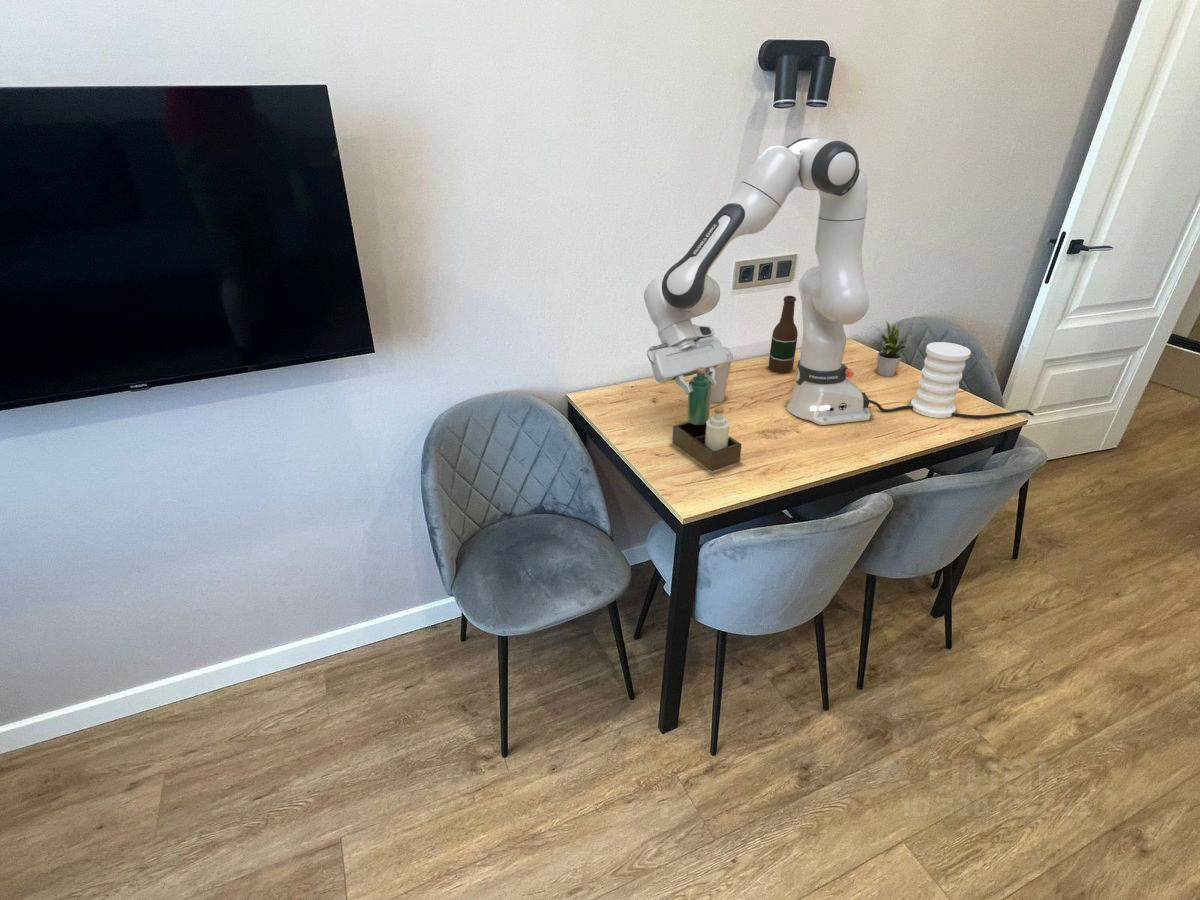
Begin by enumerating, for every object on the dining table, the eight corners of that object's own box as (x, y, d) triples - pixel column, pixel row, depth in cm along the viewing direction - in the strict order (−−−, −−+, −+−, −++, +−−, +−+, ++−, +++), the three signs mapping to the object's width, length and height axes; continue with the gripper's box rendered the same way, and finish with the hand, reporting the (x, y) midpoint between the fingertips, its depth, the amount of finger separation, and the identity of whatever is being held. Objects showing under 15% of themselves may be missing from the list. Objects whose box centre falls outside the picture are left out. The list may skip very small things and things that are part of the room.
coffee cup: (693, 401, 189) (696, 354, 181) (701, 389, 196) (704, 342, 189) (725, 406, 185) (730, 358, 178) (732, 393, 193) (737, 346, 186)
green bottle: (707, 414, 163) (711, 364, 156) (710, 424, 158) (714, 373, 152) (685, 414, 163) (688, 364, 156) (688, 425, 159) (690, 373, 152)
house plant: (851, 364, 211) (860, 316, 203) (891, 362, 213) (902, 314, 204) (872, 381, 199) (882, 331, 191) (914, 379, 200) (927, 329, 192)
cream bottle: (724, 452, 161) (729, 403, 154) (728, 464, 156) (733, 413, 149) (702, 453, 161) (705, 403, 154) (705, 464, 156) (709, 414, 149)
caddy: (672, 445, 166) (673, 425, 164) (698, 437, 170) (700, 417, 167) (711, 474, 154) (713, 453, 151) (739, 464, 158) (741, 444, 155)
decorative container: (964, 413, 180) (982, 352, 171) (933, 421, 176) (950, 359, 167) (931, 397, 189) (946, 339, 180) (901, 404, 185) (915, 345, 176)
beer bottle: (793, 374, 205) (804, 301, 193) (768, 373, 206) (777, 299, 194) (791, 365, 211) (802, 293, 199) (767, 364, 213) (776, 292, 201)
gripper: (649, 342, 152) (672, 394, 149) (718, 326, 160) (740, 375, 158) (639, 354, 157) (661, 404, 155) (705, 338, 166) (727, 385, 163)
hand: (701, 389), depth 156 cm, fingers closed on green bottle, 5 cm apart
